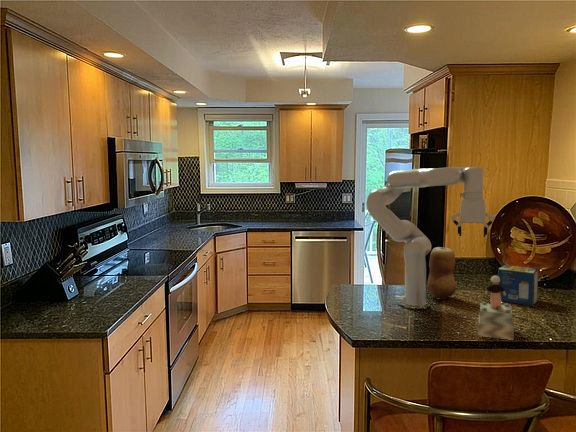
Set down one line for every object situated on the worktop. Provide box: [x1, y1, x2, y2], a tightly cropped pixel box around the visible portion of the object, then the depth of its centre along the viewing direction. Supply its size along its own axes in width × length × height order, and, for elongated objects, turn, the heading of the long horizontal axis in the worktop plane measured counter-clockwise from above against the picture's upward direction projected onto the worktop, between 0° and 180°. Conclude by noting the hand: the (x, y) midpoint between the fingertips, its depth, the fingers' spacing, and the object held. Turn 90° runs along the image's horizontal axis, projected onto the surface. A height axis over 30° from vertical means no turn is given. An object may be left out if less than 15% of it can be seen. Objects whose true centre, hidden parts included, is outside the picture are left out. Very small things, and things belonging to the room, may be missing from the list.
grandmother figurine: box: [484, 274, 506, 309], centre depth 173 cm, size 8×4×13 cm, turn 93°
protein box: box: [497, 264, 539, 307], centre depth 215 cm, size 10×15×16 cm
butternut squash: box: [426, 246, 457, 300], centre depth 222 cm, size 14×13×25 cm
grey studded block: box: [477, 301, 515, 341], centre depth 174 cm, size 12×12×11 cm
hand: (472, 236), depth 195 cm, fingers open, 9 cm apart
